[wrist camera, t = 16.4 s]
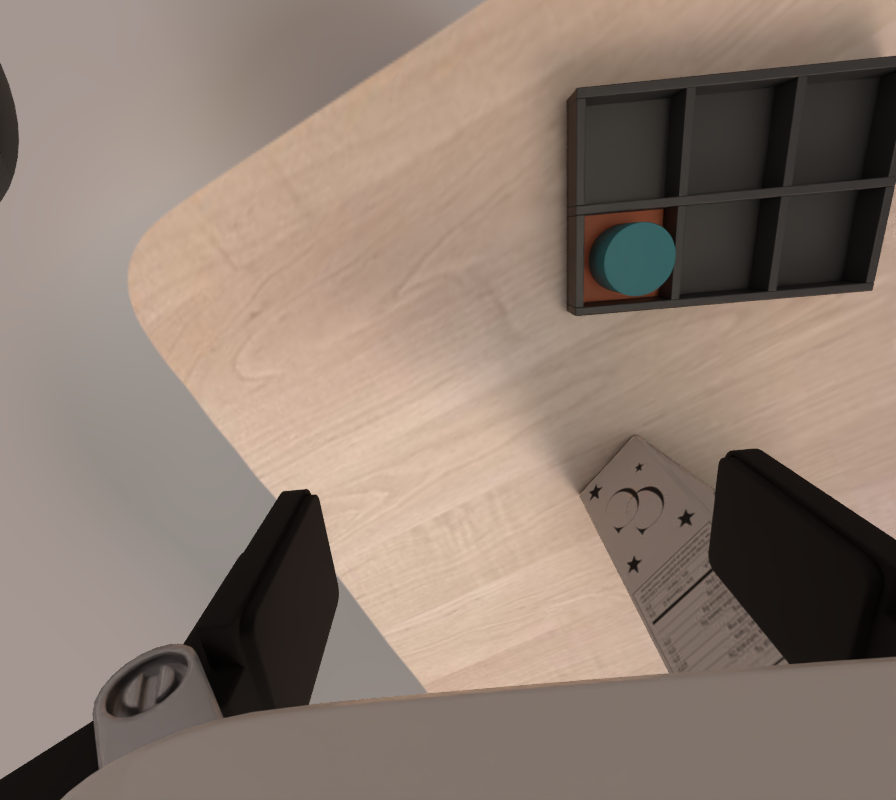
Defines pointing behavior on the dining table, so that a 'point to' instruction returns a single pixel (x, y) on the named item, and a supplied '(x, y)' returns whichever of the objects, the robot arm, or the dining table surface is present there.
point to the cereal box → (672, 562)
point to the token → (632, 258)
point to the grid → (736, 181)
